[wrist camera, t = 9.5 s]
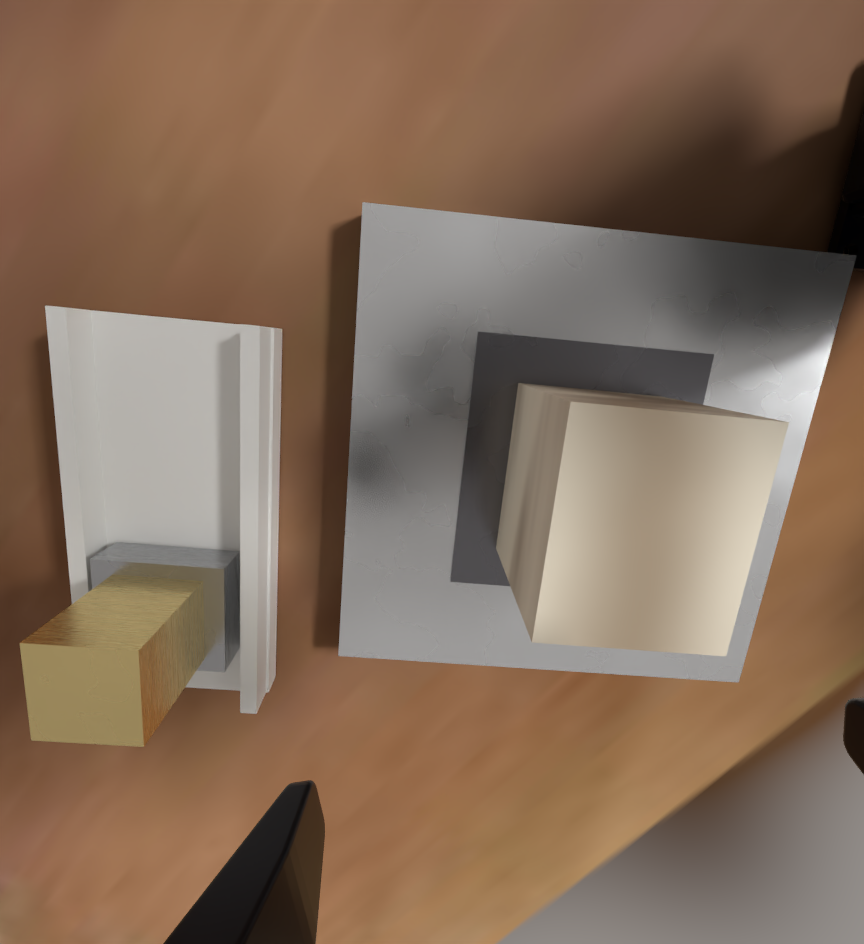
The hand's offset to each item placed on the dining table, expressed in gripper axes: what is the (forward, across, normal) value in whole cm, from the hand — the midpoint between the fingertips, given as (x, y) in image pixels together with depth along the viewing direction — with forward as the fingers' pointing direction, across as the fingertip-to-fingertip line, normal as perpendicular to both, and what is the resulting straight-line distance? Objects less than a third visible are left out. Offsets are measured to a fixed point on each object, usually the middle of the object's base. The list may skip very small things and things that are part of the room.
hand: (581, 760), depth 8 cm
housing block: (+10, -3, -2) cm, 11 cm away
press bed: (+11, -3, -2) cm, 12 cm away
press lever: (+10, +12, +1) cm, 16 cm away
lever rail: (+12, +11, -2) cm, 16 cm away
